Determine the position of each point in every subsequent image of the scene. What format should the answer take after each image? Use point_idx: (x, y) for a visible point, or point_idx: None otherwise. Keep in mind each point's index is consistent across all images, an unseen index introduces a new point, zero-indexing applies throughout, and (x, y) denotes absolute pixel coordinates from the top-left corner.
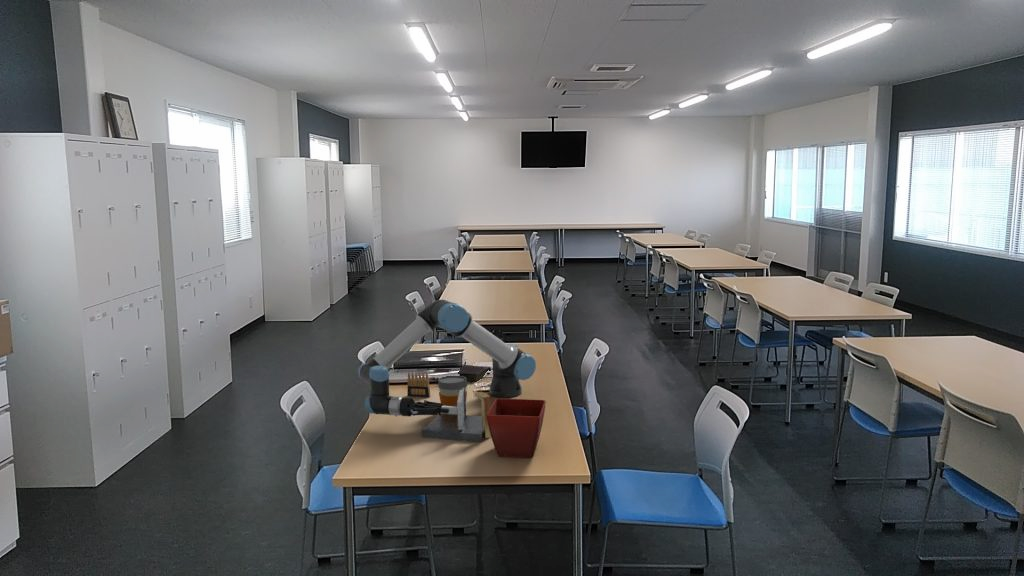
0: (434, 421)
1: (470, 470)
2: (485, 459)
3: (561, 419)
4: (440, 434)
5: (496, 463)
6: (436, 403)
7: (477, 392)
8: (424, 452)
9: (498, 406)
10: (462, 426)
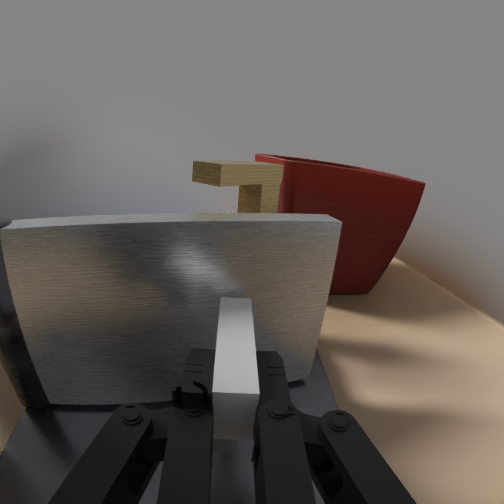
0: None
1: (460, 311)
2: (400, 306)
3: None
4: None
5: (400, 290)
6: (104, 478)
7: (210, 162)
8: (492, 438)
9: (288, 187)
10: None
